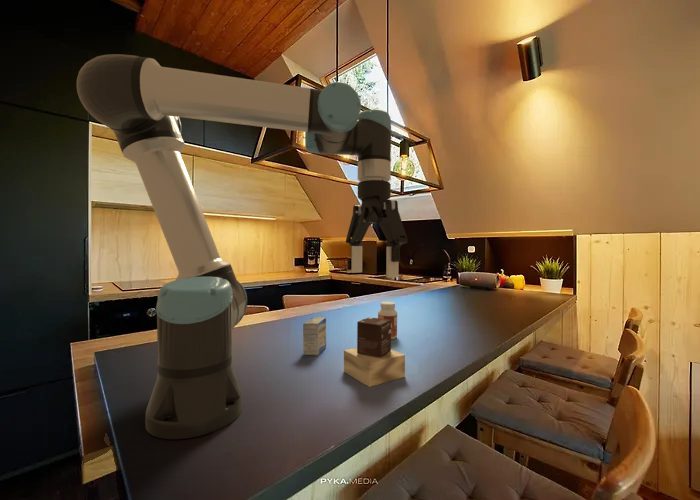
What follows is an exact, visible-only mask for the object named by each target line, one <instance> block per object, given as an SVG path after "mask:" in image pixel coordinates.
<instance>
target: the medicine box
mask: <svg viewBox="0 0 700 500" xmlns="http://www.w3.org/2000/svg"><path fill="white" fill-rule="evenodd" d="M326 347H327V318H326V317H319V316H315V317H314V316H313V317H311V318H310V319H308V320H307V321H305V322H304V323H303V324H302V349H303V350H302V354H303V355H306V356H320V354H321V353H322V352H324V350H325V349H326Z"/></svg>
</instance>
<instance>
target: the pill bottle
mask: <svg viewBox="0 0 700 500" xmlns="http://www.w3.org/2000/svg"><path fill="white" fill-rule="evenodd" d="M379 305H380V309H379V310H378V311H377V318H380V319H388V320H391V340H394V339H396V338H397V336H398V311H397V310H396V309H395V308H396V303H395V302H393V301H381V302H380V304H379Z"/></svg>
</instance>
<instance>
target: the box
mask: <svg viewBox="0 0 700 500" xmlns="http://www.w3.org/2000/svg"><path fill="white" fill-rule="evenodd" d="M356 323H357V324H356V325H357V328H356V329H357V331H356V333H357V334H356V335H357V336H356V337H357V338H356V342H357V343H356V348H357V353H358V354H363V355H369V356H374V357H382V356H384V355H385V354H387V353H388V352H389V351H391V349H392V339H391V320H388V319H380V318H378V317H370V316H369V317H366V318H363V319H361V320H359V321H357V322H356Z"/></svg>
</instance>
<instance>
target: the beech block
mask: <svg viewBox="0 0 700 500" xmlns="http://www.w3.org/2000/svg"><path fill="white" fill-rule="evenodd" d="M343 372H344V373H346V374H347V375H349V376H350V377H352V378H353V379H355V380H357V381H359V382H360V383H361V384H363V385H365V386H366V387H369V388H371V387H374V386H378V385H381V384H384V383H389V382H391V381H392V382H393V381H396V380H398V379H402V378H405V377H406V354H404V353H402V352H399V351H397V350H395V349H392V348H391V351H389V352H388V353H387V354H385V355H384V356H382V357H374V356H369V355H363V354H358V353H357V347H351V348H348V349H343Z"/></svg>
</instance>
